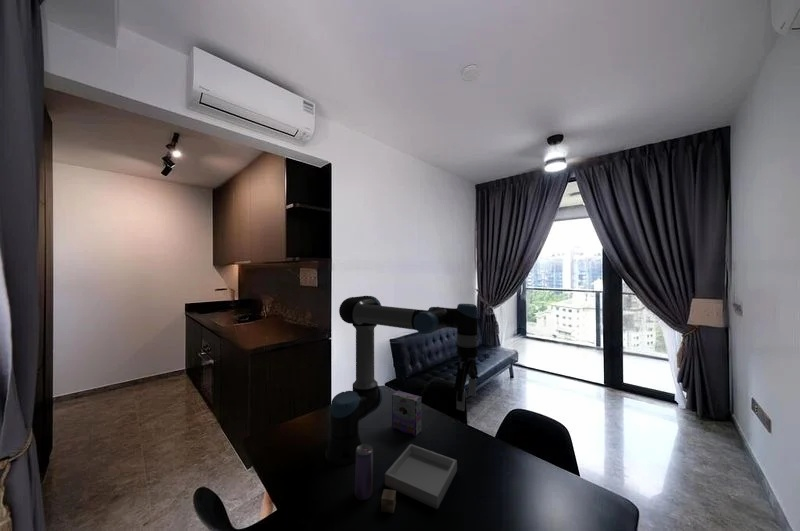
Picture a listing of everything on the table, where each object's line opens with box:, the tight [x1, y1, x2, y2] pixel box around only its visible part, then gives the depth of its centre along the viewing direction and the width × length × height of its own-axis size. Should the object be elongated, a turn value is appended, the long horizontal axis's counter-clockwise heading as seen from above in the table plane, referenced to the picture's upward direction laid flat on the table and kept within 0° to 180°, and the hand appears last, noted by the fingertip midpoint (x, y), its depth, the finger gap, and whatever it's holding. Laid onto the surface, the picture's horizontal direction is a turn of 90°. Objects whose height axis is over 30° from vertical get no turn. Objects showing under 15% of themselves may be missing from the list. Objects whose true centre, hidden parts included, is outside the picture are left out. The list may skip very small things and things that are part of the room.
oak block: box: [380, 488, 397, 514], centre depth 88 cm, size 4×4×4 cm
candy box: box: [391, 390, 422, 437], centre depth 132 cm, size 14×6×16 cm, turn 58°
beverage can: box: [354, 443, 374, 501], centre depth 93 cm, size 6×6×15 cm
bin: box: [384, 443, 458, 511], centre depth 100 cm, size 20×20×4 cm
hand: (466, 402), depth 102 cm, fingers open, 13 cm apart
